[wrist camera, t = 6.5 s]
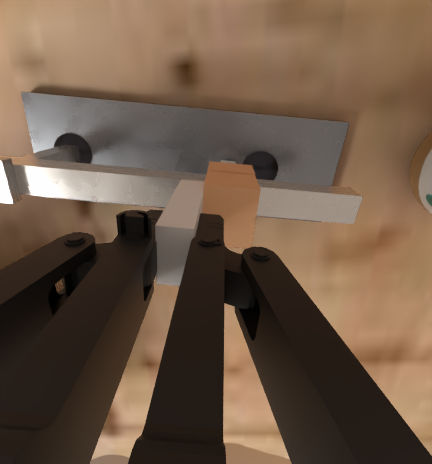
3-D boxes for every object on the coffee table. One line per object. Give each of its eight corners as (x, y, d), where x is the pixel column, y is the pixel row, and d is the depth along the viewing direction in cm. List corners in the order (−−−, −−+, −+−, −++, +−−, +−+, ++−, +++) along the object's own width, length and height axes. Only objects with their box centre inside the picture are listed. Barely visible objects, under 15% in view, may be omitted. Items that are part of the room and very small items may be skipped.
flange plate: (49, 193, 30) (42, 197, 29) (29, 92, 25) (19, 91, 24) (317, 217, 30) (321, 222, 29) (344, 121, 26) (350, 122, 24)
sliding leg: (210, 185, 27) (199, 245, 16) (213, 146, 25) (204, 182, 14) (240, 188, 27) (250, 250, 16) (245, 149, 25) (261, 187, 14)
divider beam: (55, 164, 27) (-36, 199, 18) (50, 135, 26) (-51, 155, 16) (311, 188, 27) (356, 234, 18) (317, 160, 26) (371, 194, 17)
